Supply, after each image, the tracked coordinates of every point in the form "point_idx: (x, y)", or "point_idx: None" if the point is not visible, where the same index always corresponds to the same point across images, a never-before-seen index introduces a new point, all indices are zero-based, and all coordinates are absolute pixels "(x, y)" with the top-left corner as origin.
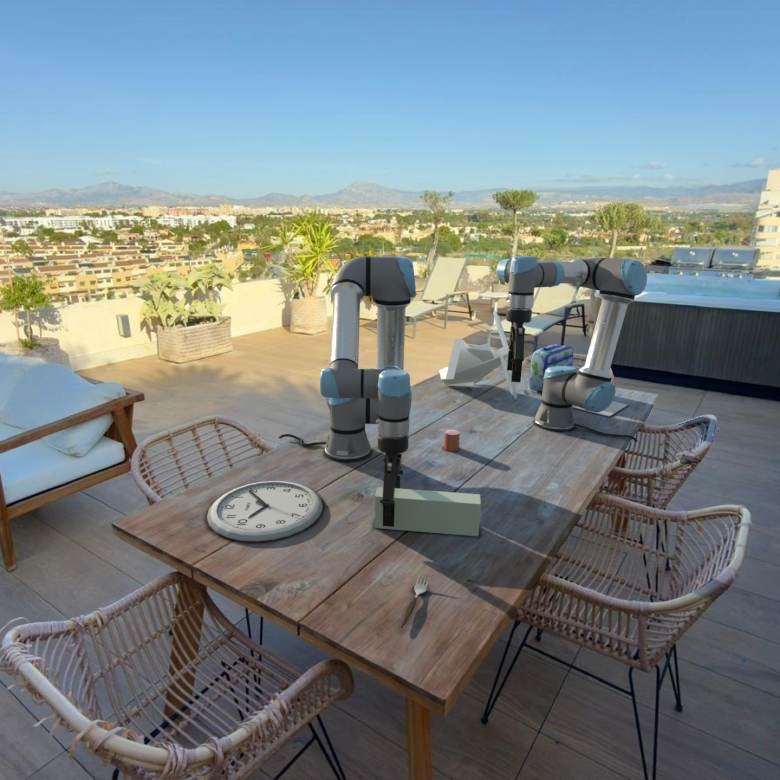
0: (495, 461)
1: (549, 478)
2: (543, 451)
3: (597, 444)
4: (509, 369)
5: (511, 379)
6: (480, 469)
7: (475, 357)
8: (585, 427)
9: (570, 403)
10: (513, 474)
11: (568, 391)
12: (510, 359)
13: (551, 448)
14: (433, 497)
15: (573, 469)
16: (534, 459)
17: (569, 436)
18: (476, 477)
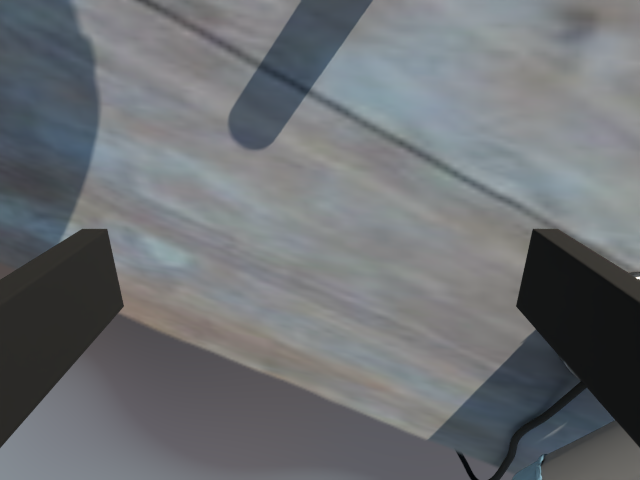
0: (295, 103)
1: (209, 252)
2: (395, 264)
3: (455, 403)
4: (532, 255)
5: (76, 237)
6: (219, 43)
7: None
8: (561, 403)
9: (603, 426)
10: (209, 154)
11: (631, 461)
12: (608, 318)
13: (420, 289)
14: None
15: (281, 319)
16: (331, 230)
17: (514, 350)
18: (153, 24)
